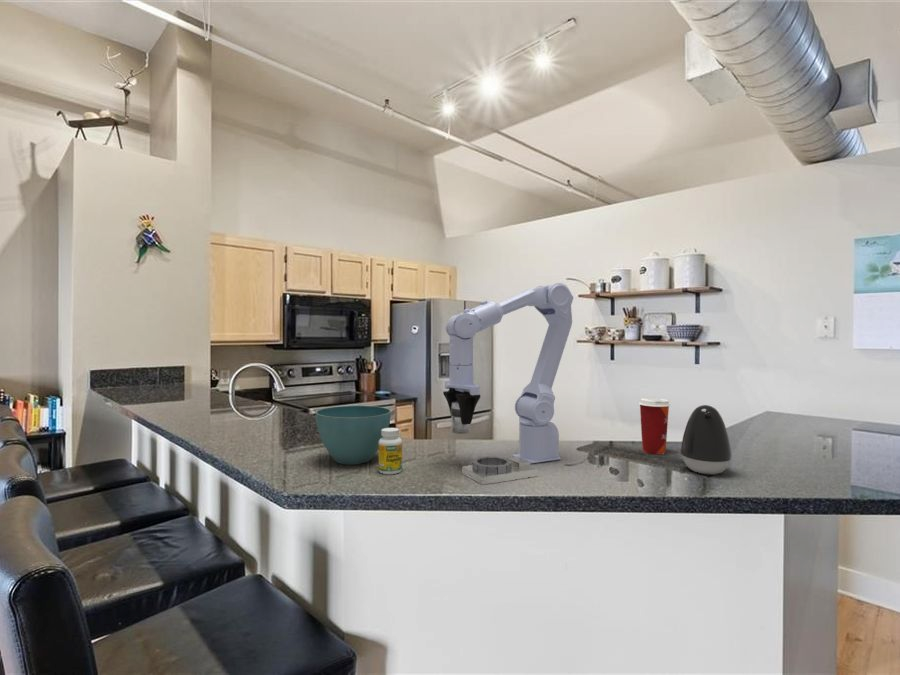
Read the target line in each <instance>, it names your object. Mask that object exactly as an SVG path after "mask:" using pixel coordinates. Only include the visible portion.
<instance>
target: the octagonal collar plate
mask: <svg viewBox="0 0 900 675" xmlns="http://www.w3.org/2000/svg"><path fill="white" fill-rule="evenodd" d="M461 469H462V470H461V471H462V473H463V475H464V476H466V477H468V478H469V479H472V480H473V481H475V482H477V483H478V484H480V485H482V486H483V485H489V484H496V483H503V482H509V481H514V480H515V479H517V480H522V478H523V479H529V478H528V477H530V478H535V477H538V470H539V469H538V468H537V467H534V466H532V465H531V463H530V461H528V460H525V459H523V458H520V457H518V456H517V457H513V456H512V457H507V458H506V457H502V456H480V457H476V458H474V459H472V464H469V465H463V466H462V468H461ZM515 481H516V480H515Z"/></svg>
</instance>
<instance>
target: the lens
mask: <svg viewBox="0 0 900 675" xmlns="http://www.w3.org/2000/svg"><path fill="white" fill-rule="evenodd" d="M451 416H452V418H451V419H450V420H451V426H450V427H451V429H450V430H451V431H450V432H451V433H453V434H458V435H463V434H464V435H465V434H469V433H471V424H465V425H463V424H462V422H461V415H460V407H459V403H458V400H456V401H453V402H452V407H451V413H450V417H451Z"/></svg>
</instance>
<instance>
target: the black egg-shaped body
mask: <svg viewBox="0 0 900 675" xmlns="http://www.w3.org/2000/svg"><path fill="white" fill-rule="evenodd" d="M680 446H681V447H680V454H681V455H682V460H683V462H684V464H685V465H686V467H688V469H690V470H691V471H693V472H695V473H697V472H698V474H702V475H708V476H709V475H718V474H721V473H723V472H724V471H725V470H727V468H728V466H729V464H730V461H731V460H732V449H731V442H730V437H729V435H728V431H727V428H726V424H725V421H724V420H723V418H722V415H721V414H720V412H719V411H718V410H717V409H716V407H714V406H711V405H708V404H702V405H699V406H697V407H696V408H695V409H694V410H693V411H692V412H691V414H690V416H689V418H688V421H687V422H686V426H685V429H684V432H683V435H682V440H681V445H680Z"/></svg>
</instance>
